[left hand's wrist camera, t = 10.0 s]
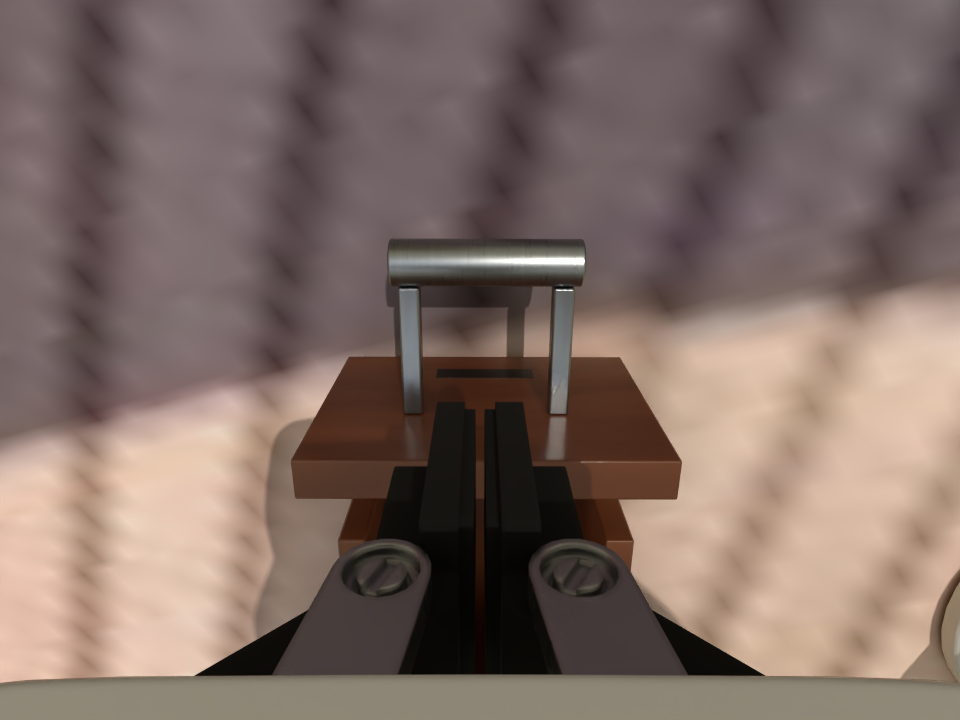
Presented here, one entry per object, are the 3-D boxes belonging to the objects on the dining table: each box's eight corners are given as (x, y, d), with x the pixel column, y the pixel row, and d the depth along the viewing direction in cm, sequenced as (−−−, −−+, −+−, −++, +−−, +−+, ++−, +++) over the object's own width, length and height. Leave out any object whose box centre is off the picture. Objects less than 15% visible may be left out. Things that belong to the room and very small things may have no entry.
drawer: (338, 214, 22) (266, 261, 15) (632, 215, 22) (709, 262, 15) (377, 735, 31) (345, 927, 23) (587, 736, 31) (620, 927, 23)
